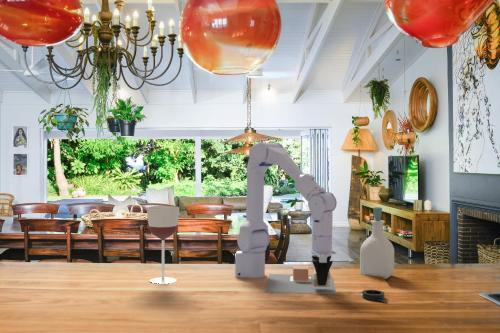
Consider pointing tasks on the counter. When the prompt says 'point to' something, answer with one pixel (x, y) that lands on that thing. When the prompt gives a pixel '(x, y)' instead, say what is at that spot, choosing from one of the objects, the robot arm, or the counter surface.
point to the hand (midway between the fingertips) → (321, 282)
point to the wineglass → (163, 231)
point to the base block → (300, 273)
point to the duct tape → (373, 295)
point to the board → (296, 285)
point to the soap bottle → (377, 251)
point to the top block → (317, 282)
